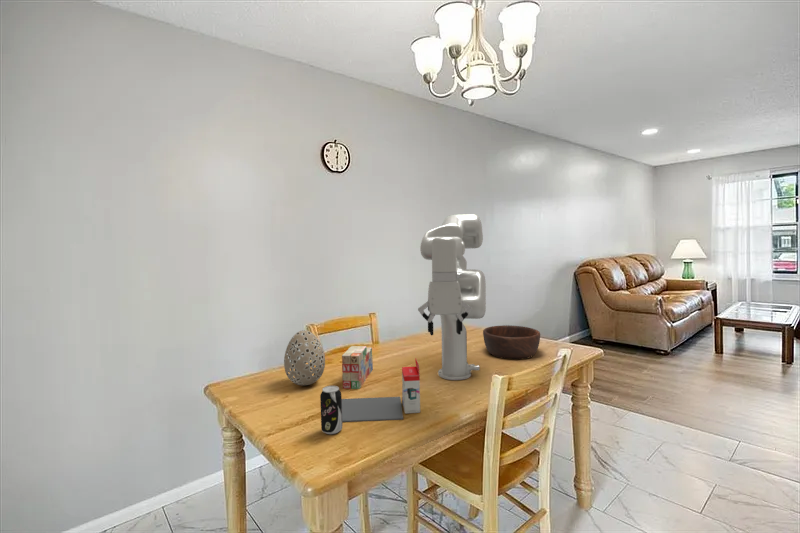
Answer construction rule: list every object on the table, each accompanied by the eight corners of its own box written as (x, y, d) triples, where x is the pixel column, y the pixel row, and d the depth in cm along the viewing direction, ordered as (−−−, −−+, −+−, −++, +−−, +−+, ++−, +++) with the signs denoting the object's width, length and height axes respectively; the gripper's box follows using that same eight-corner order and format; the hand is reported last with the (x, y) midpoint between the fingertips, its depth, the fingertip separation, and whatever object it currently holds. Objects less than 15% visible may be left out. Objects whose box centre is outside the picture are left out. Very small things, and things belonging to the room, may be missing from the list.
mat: (400, 397, 131) (400, 396, 131) (403, 419, 115) (403, 418, 115) (339, 400, 130) (339, 399, 130) (334, 422, 114) (334, 421, 114)
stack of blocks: (358, 369, 161) (357, 339, 161) (373, 369, 160) (372, 340, 160) (342, 388, 140) (341, 354, 140) (359, 389, 139) (358, 355, 139)
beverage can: (345, 432, 108) (344, 389, 107) (326, 438, 105) (324, 394, 104) (337, 424, 113) (336, 383, 112) (318, 429, 110) (316, 387, 109)
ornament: (300, 375, 155) (298, 325, 153) (333, 379, 149) (331, 327, 148) (276, 389, 141) (274, 333, 140) (311, 394, 136) (309, 336, 134)
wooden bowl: (473, 349, 188) (473, 327, 187) (518, 344, 195) (518, 323, 195) (502, 364, 164) (502, 340, 163) (552, 358, 171) (552, 334, 171)
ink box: (402, 402, 127) (401, 357, 126) (417, 401, 128) (416, 357, 127) (404, 414, 119) (403, 366, 118) (420, 413, 119) (420, 365, 118)
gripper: (469, 275, 125) (470, 330, 126) (415, 277, 124) (416, 332, 126) (475, 277, 118) (475, 336, 119) (417, 279, 117) (418, 337, 118)
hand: (445, 333), depth 122 cm, fingers open, 7 cm apart
